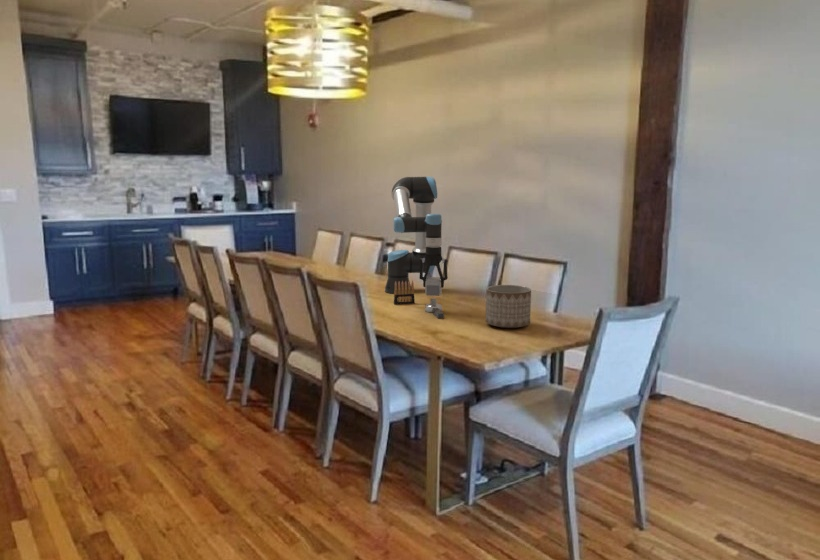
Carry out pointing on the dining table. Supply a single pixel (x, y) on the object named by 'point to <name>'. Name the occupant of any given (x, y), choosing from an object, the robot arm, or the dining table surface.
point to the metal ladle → (434, 309)
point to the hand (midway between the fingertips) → (433, 293)
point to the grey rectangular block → (432, 286)
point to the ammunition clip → (404, 293)
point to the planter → (508, 306)
